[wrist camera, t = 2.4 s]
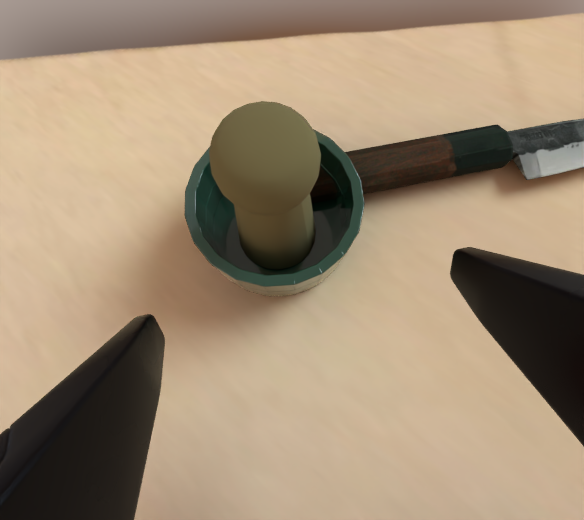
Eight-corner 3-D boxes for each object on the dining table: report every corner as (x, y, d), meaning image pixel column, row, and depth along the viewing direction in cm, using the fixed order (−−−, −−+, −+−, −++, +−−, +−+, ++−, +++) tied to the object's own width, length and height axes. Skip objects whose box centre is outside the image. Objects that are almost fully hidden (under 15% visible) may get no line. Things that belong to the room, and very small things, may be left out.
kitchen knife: (301, 218, 21) (287, 158, 22) (300, 228, 23) (287, 173, 24) (740, 133, 23) (705, 82, 24) (702, 150, 25) (672, 102, 26)
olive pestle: (223, 226, 23) (162, 125, 12) (283, 184, 24) (274, 56, 13) (269, 285, 21) (245, 229, 11) (331, 237, 22) (364, 143, 12)
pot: (301, 325, 21) (304, 323, 17) (177, 247, 23) (147, 224, 18) (373, 204, 24) (394, 172, 19) (257, 140, 25) (250, 95, 20)
